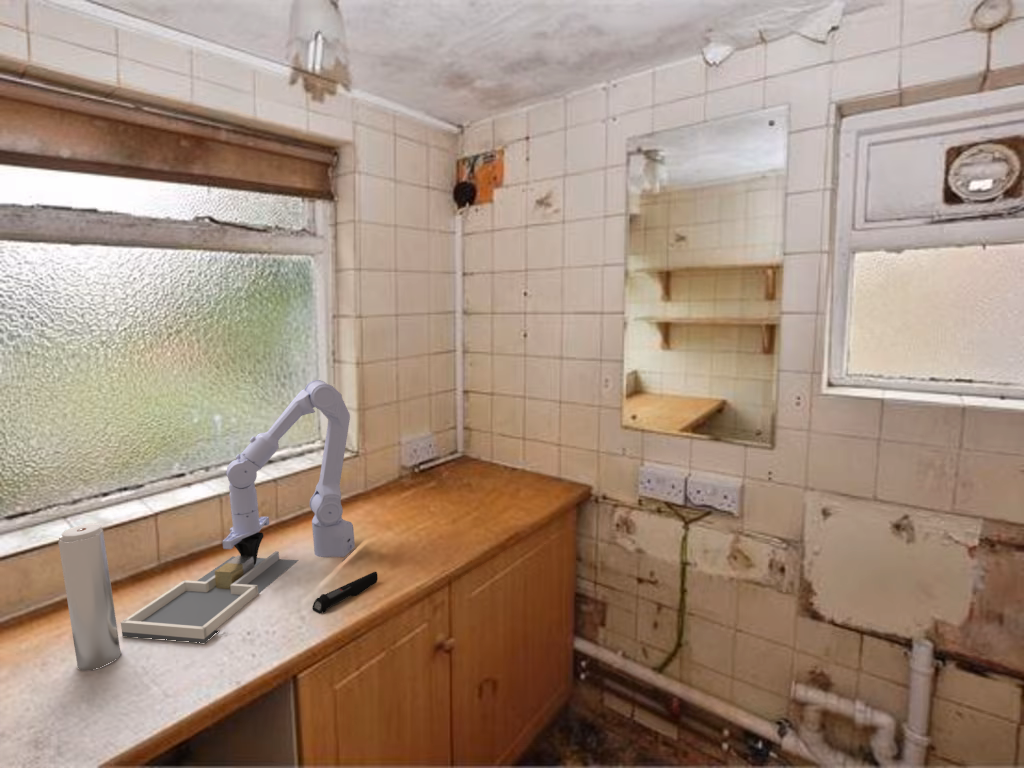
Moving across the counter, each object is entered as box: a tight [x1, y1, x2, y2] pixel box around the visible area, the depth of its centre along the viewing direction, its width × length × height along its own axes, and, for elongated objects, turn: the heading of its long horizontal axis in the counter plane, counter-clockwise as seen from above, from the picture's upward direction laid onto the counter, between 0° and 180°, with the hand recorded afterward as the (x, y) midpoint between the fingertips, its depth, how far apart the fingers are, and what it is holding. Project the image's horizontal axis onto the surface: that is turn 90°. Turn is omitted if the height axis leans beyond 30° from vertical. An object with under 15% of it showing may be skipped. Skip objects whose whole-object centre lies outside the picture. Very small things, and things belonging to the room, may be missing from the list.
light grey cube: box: [227, 554, 254, 575], centre depth 132 cm, size 4×4×4 cm
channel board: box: [120, 551, 299, 644], centre depth 125 cm, size 18×33×3 cm, turn 170°
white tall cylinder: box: [57, 523, 122, 671], centre depth 102 cm, size 6×6×25 cm
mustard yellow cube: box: [215, 563, 243, 589], centre depth 128 cm, size 4×4×4 cm
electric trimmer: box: [311, 571, 379, 615], centre depth 124 cm, size 4×16×3 cm, turn 141°
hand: (250, 564), depth 136 cm, fingers closed
